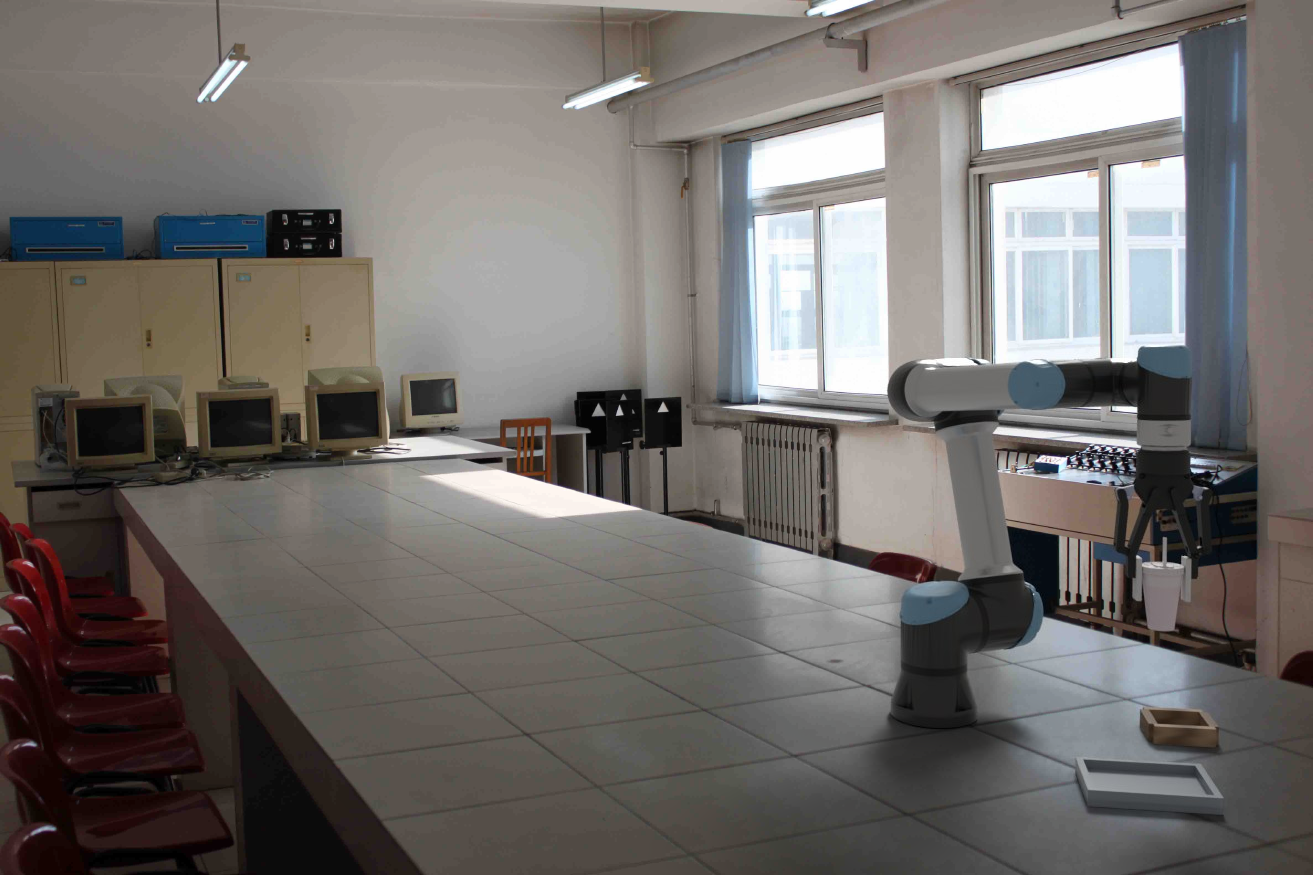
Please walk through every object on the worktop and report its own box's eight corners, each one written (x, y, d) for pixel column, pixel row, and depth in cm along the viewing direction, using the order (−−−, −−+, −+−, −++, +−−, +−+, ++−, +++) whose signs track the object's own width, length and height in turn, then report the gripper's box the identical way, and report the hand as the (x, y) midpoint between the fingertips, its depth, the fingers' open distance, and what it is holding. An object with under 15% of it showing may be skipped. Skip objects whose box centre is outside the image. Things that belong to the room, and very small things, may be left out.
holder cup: (1149, 743, 197) (1150, 725, 196) (1138, 723, 207) (1138, 706, 207) (1220, 747, 194) (1221, 729, 194) (1205, 726, 205) (1205, 709, 205)
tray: (1087, 805, 171) (1087, 789, 170) (1075, 771, 184) (1075, 756, 184) (1223, 814, 167) (1223, 798, 167) (1200, 779, 180) (1200, 763, 180)
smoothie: (1158, 634, 177) (1159, 541, 176) (1129, 625, 183) (1130, 535, 182) (1193, 631, 179) (1195, 538, 178) (1163, 622, 185) (1164, 532, 184)
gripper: (1100, 450, 177) (1099, 603, 179) (1239, 449, 174) (1236, 606, 176) (1091, 446, 185) (1090, 593, 186) (1224, 445, 181) (1221, 595, 183)
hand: (1161, 599), depth 181 cm, fingers closed on smoothie, 6 cm apart
